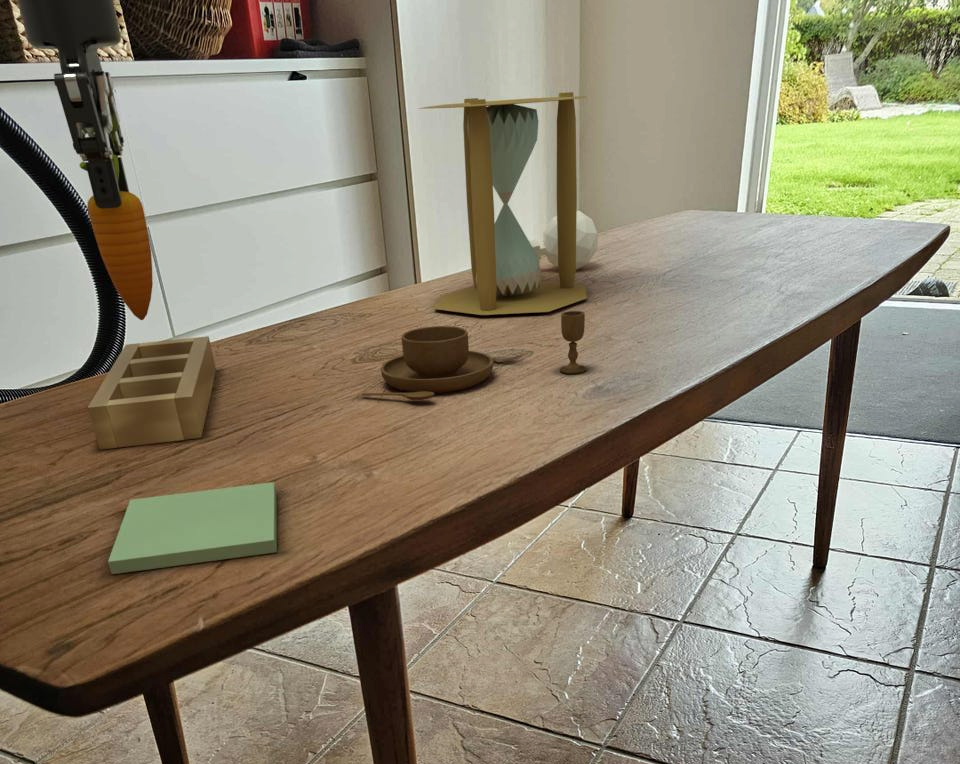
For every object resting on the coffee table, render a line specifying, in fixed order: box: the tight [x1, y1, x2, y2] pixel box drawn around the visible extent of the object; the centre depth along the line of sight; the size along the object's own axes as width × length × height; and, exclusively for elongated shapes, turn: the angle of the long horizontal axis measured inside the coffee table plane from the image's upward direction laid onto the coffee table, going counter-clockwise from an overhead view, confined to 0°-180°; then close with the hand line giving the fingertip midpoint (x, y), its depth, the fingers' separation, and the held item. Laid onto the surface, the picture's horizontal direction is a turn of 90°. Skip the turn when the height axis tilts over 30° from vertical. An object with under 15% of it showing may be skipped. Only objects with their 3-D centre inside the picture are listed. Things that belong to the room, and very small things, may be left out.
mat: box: [107, 481, 278, 575], centre depth 65 cm, size 11×11×1 cm
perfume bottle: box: [529, 210, 599, 271], centre depth 145 cm, size 9×9×12 cm
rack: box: [87, 335, 217, 451], centre depth 92 cm, size 9×24×4 cm, turn 11°
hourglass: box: [417, 91, 588, 316], centre depth 122 cm, size 24×22×25 cm
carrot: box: [79, 154, 154, 321], centre depth 85 cm, size 5×5×15 cm
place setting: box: [360, 310, 587, 401], centre depth 93 cm, size 18×20×6 cm
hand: (114, 203), depth 83 cm, fingers closed on carrot, 5 cm apart
